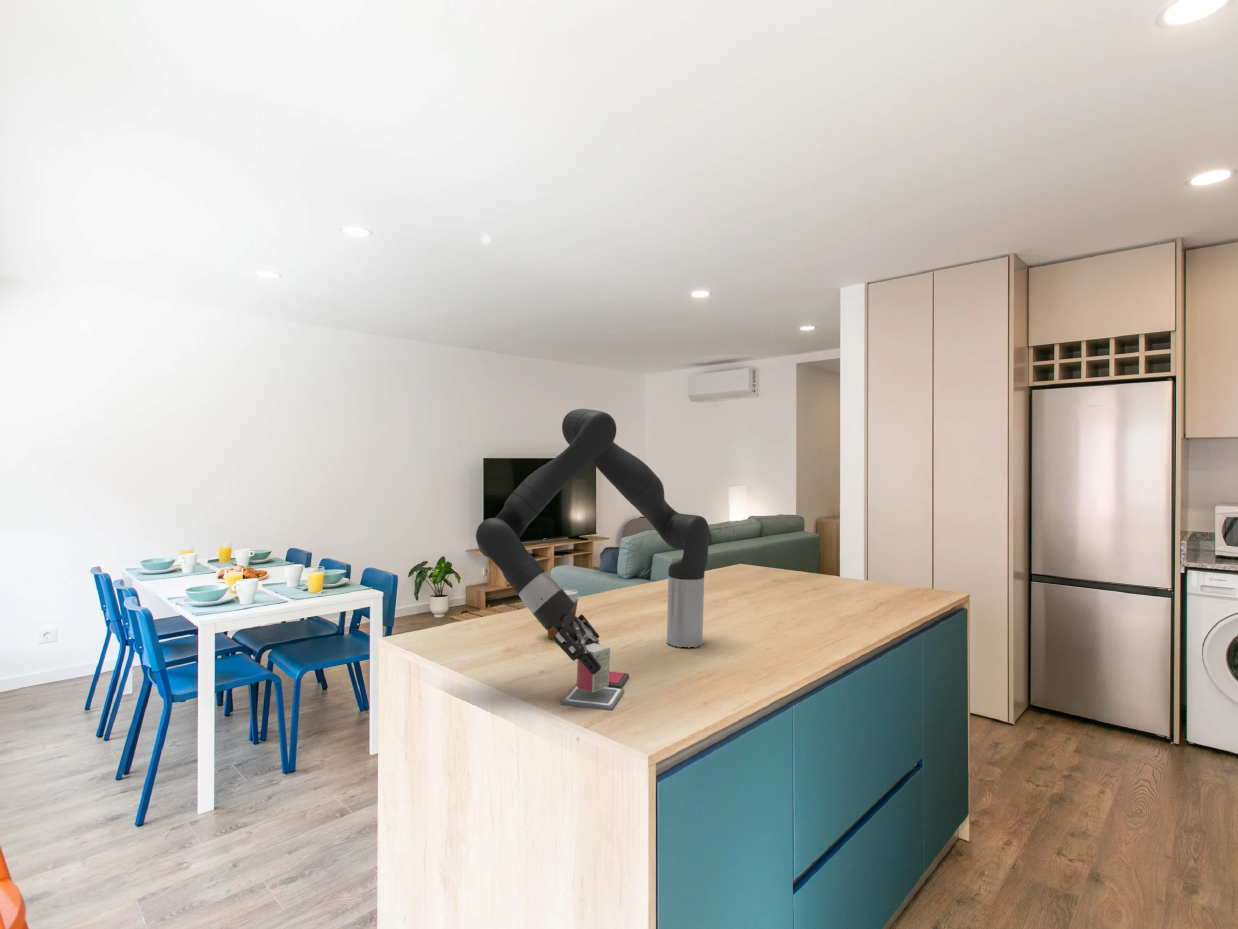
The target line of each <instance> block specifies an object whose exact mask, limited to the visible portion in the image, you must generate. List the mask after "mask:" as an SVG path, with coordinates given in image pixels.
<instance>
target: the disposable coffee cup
mask: <svg viewBox="0 0 1238 929" xmlns="http://www.w3.org/2000/svg"><path fill="white" fill-rule="evenodd" d="M562 589H563V590H564V592H565V593H566V594H567V595H568V596H569V597H570V599H571V600H572V601H573V602H574V603H575V608H574V609H573V610H572V611H571V612H572V613H573V614H574V615H575V616H577V615H576V613H577V607H578V602H579V599H580V595H579V593H578V592H579V591H578V590H576V589H571V588H562ZM556 634H557V631H556V630H555V628H554V627H553V628H552V629H550V630H547V637H548V639H549V640H552V641H554V640H553V637H554V636H555V635H556Z"/></svg>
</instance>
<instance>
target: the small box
mask: <svg viewBox="0 0 1238 929" xmlns="http://www.w3.org/2000/svg"><path fill="white" fill-rule="evenodd" d="M586 648H587V649H588V653H589V652H590V653H591V655H592V656H593V657H594V658H595V659H596V660H597V662H598V663H599V664H600V665H601V669H600V670H599V671H598V672H597V673H596V674H594V675H593V674H591V673H590V671H589V670H588V669H587V668H586V667H585V665H584V664H583V663H582V662H581V661H578V660H577V670H576V671H577V673H576V684H577V687H578V688H581V689H583V690H586V691H589V692H595V691H598V690H600V689H603V688H605V687H608V686H609V671H610V659H611V646H608V645H602V644H601V643H599V644H596V643H592V644H589V645H586Z"/></svg>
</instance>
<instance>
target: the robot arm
mask: <svg viewBox="0 0 1238 929" xmlns="http://www.w3.org/2000/svg"><path fill="white" fill-rule="evenodd" d="M561 423H562V424H561V431H562V434H563V438H564V440H565V441H566V443H567V444H568V445H569V446H567V447H566V448H565V449H563V451H562V452H560V453H559V455H557V456H555V457H554V458H553V459H551V460H550V461H548V462H546V463H545V464H543V465H542V466H540V467H539V468H537V469H536V470H534V471H533V472H532V473H531V474H529V475H528V476H526V478H525V479H524V480H523V481H522V482H521V483H520V484H519V485H518V486H517V488H516V489H515V490H514V491H513V492H512V493H511V494H510V495H509V496H508V497H507V498H506V500H505V502H504V505H503V507H502V509H501V510H500V512H499V513H498V514H497V515H496V516H495V517H490V518H486V519H484V520H483V521H482V522H480V524H479V526H477V529H476V532H475V540H476V544H477V547H478V549H479V551H480V553H481V554H482V555H483V556H484V557H486V558H489V559H490V560H491V561H492V562H493V563H494V564H495V565H496V566H497V567H498V568H499V570H500V571H501V573H502V575H503V577H504V578H505V580H506V582H507V583H508V585H510V587H511V588H512V589H513V590H514V592H515V593H517V595H518V596H519V598H520V599H521V601H522V602H523V604H524V606H526V607H527V609H528V610H529V611H530V613H531V614H532V615H533V616H534V617H535V619H536V620H537V621H538V622H539V623H540V624H541V625H542V627H543V628H544V629H545V630H546V631H548V630H550V629H552V628H553V627H554V628H555V630H556V631H557V634H556V635H555V636H554V637H553V640H552V641H554V642H555V643H556V645H557V646H559V648H560V649H561V650H562V651H563V652H564V653H565V654H566V655H567V656H568V657H569V658H570V659H571V661H576V660H577V662H578V661H581V662H582V663H583V664H584V665H585V667H586V668H587V669H588V670H589V671H590V673H591V674H593V675H594V674H596V673H597V672H598V671H599V670H600V669H601V665H600V664H599V663H598V662H597V660H596V659H595V658H594V657H593V656H592V655H591V653H590V652H589V653H588V649H587V648H586V645H589V644H592V643H596V644H600V643H599V642H600V640H599V638H600V635H599V633H598V632H597V631H596V630H595V628H594V627H593V626H592V624H591V623H590V622H589V620H588V619H587V618H586V617H585V615H584V614H579V615H578V617H577V615H574V614H573V613H572V612H571V611H572V610H573V609H574V608H575V603H574V602H573V601H572V600H571V599H570V597H569V596H568V595H567V594H566V593H565V592H564V590H563V589H564V588H562V587H561V586H560V585H559V583H558V582H557V581H556V580H555V578H554V577H552V576H551V575H550V574H548V573H547V571H545V569H544V568H543V567H542V566H541V564H540V563H539V562H538V561H537V560H536V559H535V557H534V556H532V554H531V553H530V552H529V551H528V550H527V548H526V546H525V545H524V544H523V542H522V541H521V540H520V538H521V537H522V535H523V533H524V532H526V529H527V528H528V526H530V524H531V523H532V522H533V521H534V520H535V519H536V518H537V517H538V515H539V514H540V513H541V512H542V511H543V510H544V509H545V508H546V506H547V505H548V504H549V503H550V502H551V501H552V500H553V499H554V497H555V496H556V495H557V494H558V493H559V492H560V491H561V490H562V489H563V488H564V487H565V486H566V485H567V484H568V483H570V482H571V481H572V480H573V479H574V478H575V477H576V476H577V475H578V474H580V473H581V472H582V471H584V469H586V467H588V466H589V465H590V464H592V465H594V466H595V468H597V470H599V472H600V473H601V474H602V475H603V476H604V477H605V478H606V479H607V480H608V482H609V483H610V484H611V485H612V486H614V488H615V489H616V490H617V491H618V492H619V493H620V494H621V495H622V496H623V497H624V498H625V499H626V500H627V501H628V502H629V503H630V504H631V505H632V506H633V507H634V508H635V509H636V510H637V511H638V512H639V513H640V514H641V515H642V516H643V517H644V518H645V519H646V520H647V521H648V522H649V523H650V524H651V526H652V527H653V528H654V529H655V531H656V532H657V533H658V535H659V536H660V537H661V539H662V540H663V541H664V542H665V544H666V545H668V546H669V547H671V548H673V549H676V550H683V554H682V558H681V560H679V561H677V562H674V563H671V564H670V565H669V566H668V572H667V573H668V578H667V612H666V613H667V620H666V621H667V622H666V644H668V645H669V644H670V645H669V646H672V645H673V646H672V647H675V646H677V647H676V648H681V647H688V648H687V649H691V648H690V647H694V648H699V647H701V646H703V636H704V635H703V634H704V600H705V599H704V596H705V591H704V590H705V573H706V572H705V571H706V569H707V566H708V557H709V556H708V554H709V546H710V526H709V524H708V521H707V519H706V518H705V517H704V516H702V515H697V514H689V513H688V514H687V513H680V512H677V511H676V510H675V509H674V508H673V507H671V506H670V505H669V503H667V501H666V499H665V488H664V484H663V482H662V481H661V479H660V478H659V477H658V476H657V474H656V473H655V472H654V471H653V470H652V469H651V468H650V466H648V465H647V464H646V463H645V462H644V461H643V460H641V459H640V458H638V457H637V456H635V455H634V454H632V453H631V452H630V451H627V450H626V449H624V448H622V447H621V446H619V445H618V444H616V442H614V441H615V439H616V435H617V424H616V420H615V419H614V418H613V417H612V415H610V414H609V413H608V412H604V411H602V410H598V409H597V410H596V409H589V408H577V409H576V408H575V409H573V410H571V411H569V412H567V414H566V415H565V416H564V418H563V420H562V422H561ZM698 646H699V647H698Z"/></svg>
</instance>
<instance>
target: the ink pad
mask: <svg viewBox="0 0 1238 929" xmlns="http://www.w3.org/2000/svg"><path fill="white" fill-rule="evenodd" d="M629 678H630V673H629V672H628V673H627V672H617V671H611V670H609V686H608V687H611V688H620V689H623V687H624V685H625V684H626V682H627V681H628V679H629Z"/></svg>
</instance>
